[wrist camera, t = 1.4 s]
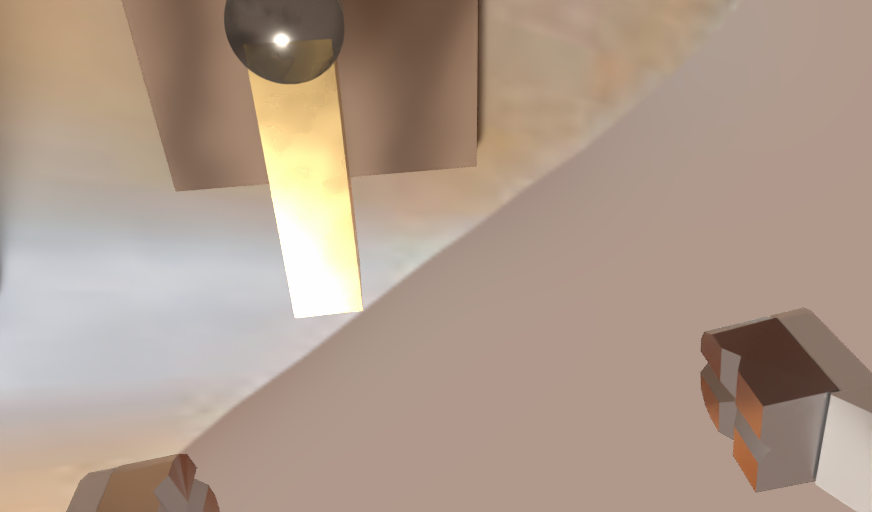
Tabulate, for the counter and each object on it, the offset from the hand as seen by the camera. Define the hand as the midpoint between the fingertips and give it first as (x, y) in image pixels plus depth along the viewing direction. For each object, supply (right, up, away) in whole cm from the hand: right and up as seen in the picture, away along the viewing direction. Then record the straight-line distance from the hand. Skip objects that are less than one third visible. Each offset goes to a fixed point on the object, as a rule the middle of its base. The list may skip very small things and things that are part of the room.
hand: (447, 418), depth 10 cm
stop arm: (-6, +8, +18) cm, 21 cm away
